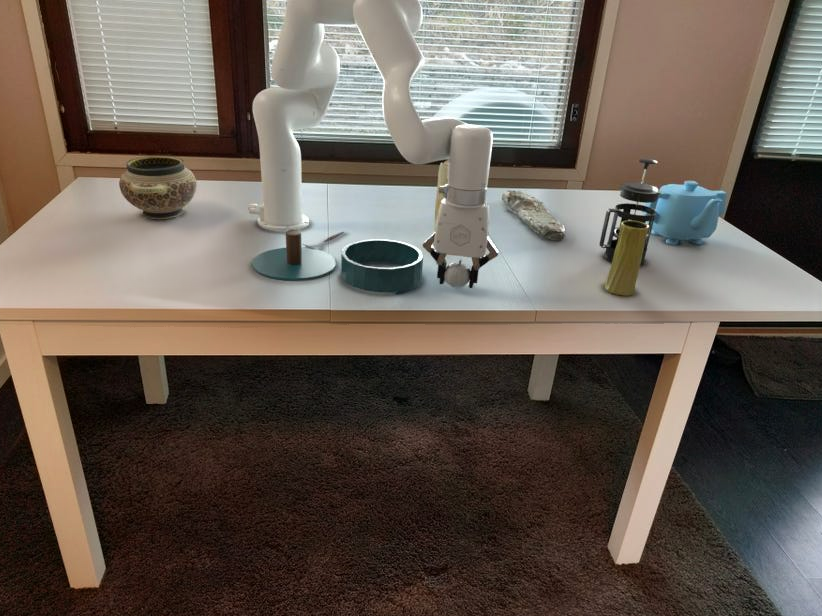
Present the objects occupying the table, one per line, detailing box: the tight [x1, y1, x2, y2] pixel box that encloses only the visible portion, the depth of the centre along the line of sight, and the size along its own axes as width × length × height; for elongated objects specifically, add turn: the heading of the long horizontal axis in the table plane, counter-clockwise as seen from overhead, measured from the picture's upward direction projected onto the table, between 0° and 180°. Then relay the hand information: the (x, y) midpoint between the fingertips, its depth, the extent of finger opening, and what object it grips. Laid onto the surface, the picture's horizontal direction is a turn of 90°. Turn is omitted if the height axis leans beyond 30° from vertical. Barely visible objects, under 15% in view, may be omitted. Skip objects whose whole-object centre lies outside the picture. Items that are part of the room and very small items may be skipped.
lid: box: [251, 229, 337, 282], centre depth 136 cm, size 18×18×8 cm
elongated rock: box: [501, 189, 566, 241], centre depth 174 cm, size 35×5×10 cm
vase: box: [604, 220, 649, 297], centre depth 132 cm, size 6×6×14 cm
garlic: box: [444, 258, 471, 289], centre depth 130 cm, size 6×5×5 cm
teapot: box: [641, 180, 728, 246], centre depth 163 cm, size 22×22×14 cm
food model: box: [433, 159, 449, 233], centre depth 150 cm, size 10×7×20 cm
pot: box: [340, 238, 424, 295], centre depth 134 cm, size 17×17×6 cm
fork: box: [302, 231, 345, 250], centre depth 151 cm, size 3×16×2 cm, turn 152°
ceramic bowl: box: [118, 155, 198, 220], centre depth 160 cm, size 24×18×15 cm
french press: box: [598, 158, 662, 267], centre depth 146 cm, size 12×9×23 cm
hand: (456, 282), depth 131 cm, fingers closed on garlic, 5 cm apart
